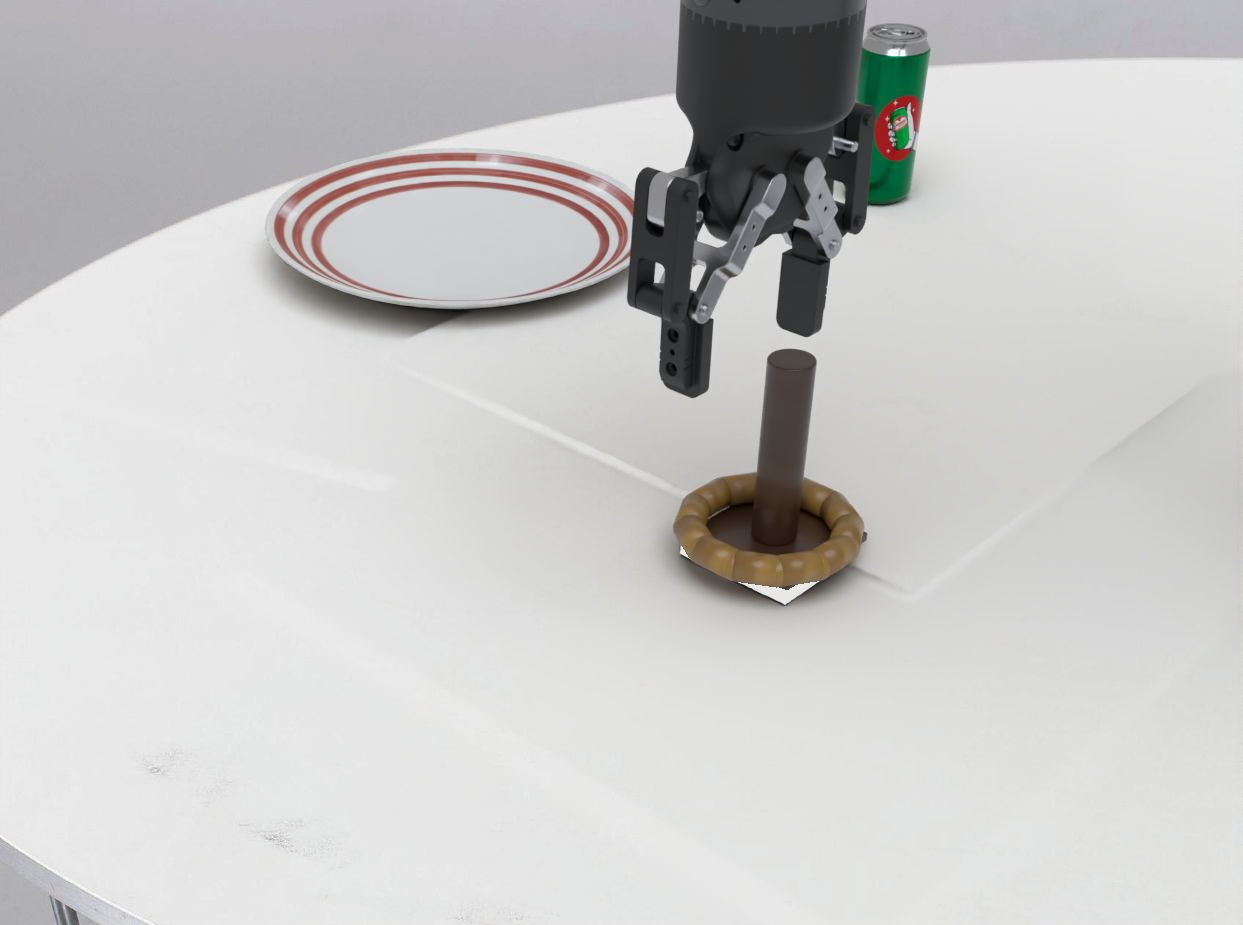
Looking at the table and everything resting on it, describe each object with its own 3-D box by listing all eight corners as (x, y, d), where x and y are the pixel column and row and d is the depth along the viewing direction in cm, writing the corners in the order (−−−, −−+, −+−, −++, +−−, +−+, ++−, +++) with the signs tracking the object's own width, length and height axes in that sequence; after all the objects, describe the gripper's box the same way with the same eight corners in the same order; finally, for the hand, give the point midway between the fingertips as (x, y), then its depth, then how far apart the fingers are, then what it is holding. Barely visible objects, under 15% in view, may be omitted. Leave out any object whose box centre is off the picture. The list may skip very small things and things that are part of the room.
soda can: (849, 179, 127) (868, 18, 120) (914, 186, 126) (937, 24, 119) (837, 202, 124) (856, 38, 116) (903, 210, 122) (927, 44, 115)
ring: (754, 474, 90) (756, 449, 89) (897, 540, 85) (901, 513, 84) (637, 540, 85) (638, 514, 84) (782, 615, 80) (784, 587, 79)
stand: (759, 504, 90) (777, 315, 83) (865, 551, 86) (893, 357, 79) (678, 555, 86) (690, 360, 79) (785, 606, 82) (807, 407, 75)
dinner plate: (711, 223, 121) (714, 178, 119) (545, 374, 102) (545, 325, 100) (395, 166, 131) (392, 124, 129) (192, 295, 112) (185, 248, 110)
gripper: (737, 50, 60) (709, 441, 70) (950, -28, 68) (897, 334, 78) (586, 11, 64) (581, 386, 74) (803, -58, 72) (771, 290, 82)
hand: (743, 359), depth 76 cm, fingers open, 8 cm apart
